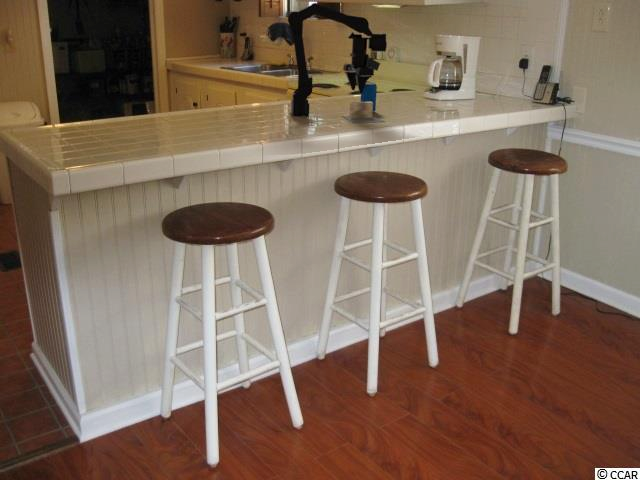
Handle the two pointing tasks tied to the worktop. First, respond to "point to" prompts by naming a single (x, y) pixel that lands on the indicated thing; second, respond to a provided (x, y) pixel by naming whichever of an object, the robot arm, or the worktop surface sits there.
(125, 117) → the worktop surface
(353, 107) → the rectangular block
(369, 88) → the beverage can
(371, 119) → the mat
